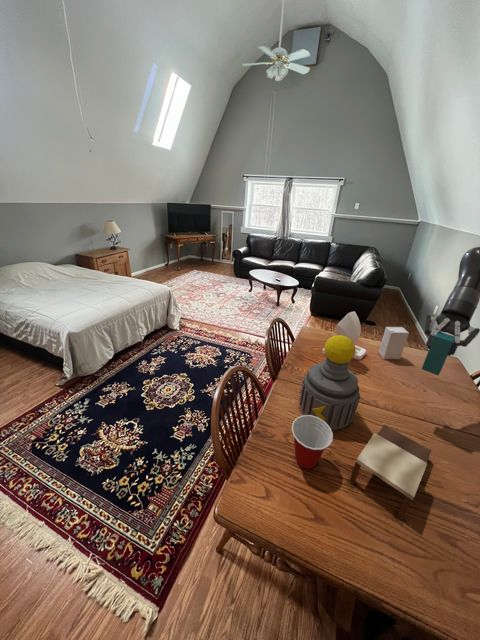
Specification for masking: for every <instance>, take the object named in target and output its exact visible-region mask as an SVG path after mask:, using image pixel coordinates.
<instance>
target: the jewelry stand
mask: <svg viewBox="0 0 480 640" xmlns="http://www.w3.org/2000/svg"><path fill="white" fill-rule="evenodd" d="M333 333H334V334H335V335H343V336H346V337H348V338H349V339H351V341H352V342H353V344H354V346H355V354H354V357H353V358H352V359H354V360H358V361H359V360H362V359H363V358H364V357H365V356H366V354H367V350H366V349H365V348H364V347H361V346H359V345H356V344H357V343H358V341H359V339H360V337H361V333H362V325H361V322H360V319H359V317H358V315H357V313H356V311H351V312H350V311H349V312H348V313H346V315H345V316H344V317H343V318H341V320H340V321H339V322H338V323H337V324H336V326H335V328H334V330H333ZM321 354H323V355H325V351H324V348H322V351H321Z"/></svg>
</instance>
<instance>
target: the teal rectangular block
mask: <svg viewBox="0 0 480 640" xmlns="http://www.w3.org/2000/svg"><path fill="white" fill-rule="evenodd" d="M454 340H455V337H454V336H453V335H451V334H449V333H445V332H438V333H436V335H435V336H434V338H433V341H432V343H431V346H430V348H429V349H428V351H427V354H426V357H425V359H424V361H423V364H422V367H421V370H422V371H425V372H428V373H430V374H433V375H436V376H440V374H441V372H442V370H443V368H444V365H445V364H446V361H447V358H448V357H449V356H448V352H449V350H450V348H451V346H452V344H453V343H454Z"/></svg>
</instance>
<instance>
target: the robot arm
mask: <svg viewBox="0 0 480 640" xmlns="http://www.w3.org/2000/svg"><path fill="white" fill-rule="evenodd" d="M458 268H459V269H458V274H457V275H458V276H457V277H458V278H457V281H456V283H455V285H454V287H453V289H452V291H451V292H450V293H449V295H448V297H447V299H446V301H445V303H444V305H443V307H442V309H441V312H439V313H440V314H438V315H436V316H432V315H431V314H427V315H426V317H425V325H424V335H425V336H428V337H427V341H426V342H425V347H426V348H427V349H428V350H429V348H430V346H431V343H432V341H433V338H434V336H435V335H436V333H438V332H441V333H445V334H448V335H451V336H454V337H455V340H454V342H453V344H452V346H451V348H450V350H449V352H448V356H447V357H451V356H454V355H455V354H456V351H457V349H458V347H464V348H466V347H467V346H468V345H469V344H470V343H472V341H474V339H475V338H476V337H477V336H478V335H479V333H480V328H479V327H473V326H471V320H472V318H473V316H474V314H475V312H476V309H477V308H478V305H479V302H480V246H475V247H472V248H470V249H469V250H467V251H466V252H465V253H464V254H463V255H462V257H461V259H460V261H459V267H458ZM434 322H436V325H437V326H436V327H435V328H434V329H433V330H432V331H431V324H434ZM465 331H468V332H467V333H468V335H467V336H466V337H465V338H464V339H463V340H462V339H461V333H463V332H465Z"/></svg>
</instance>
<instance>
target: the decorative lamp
mask: <svg viewBox="0 0 480 640" xmlns="http://www.w3.org/2000/svg"><path fill="white" fill-rule="evenodd" d="M323 349H324V351H325V354H324V355H325V359H324V360H323V362H317V363H315V364H313V365H312V366H311V367H310V368H309V370H308V371H307V372H306V374H305V376H304V377H303V379H301V382H302V383H301V388H300V390H299V393H300V394H299V406H300V412H301V413H302V415H312V416H315V417H318V418H320V419H322V420H323V421H325V422H326V423H327V424H328V426H329V427H330V428H331V431H336V430H342V429H344V428H346V427H348V426H349V424H352V422H353V421H354V419H355V416H356V413H357V410H358V407H359V404H360V400H361V394H360V387H359V379H358V377H357V375H356V374H355V373H354V372H353V371H352V370H350V369H349V362H351V360H353V359H354V358H353V357H354V354H355V346H354V344H353V342H352V341H351V339H349V338H348V337H346V336H343V335H337V334H334V335H332V336H331V337H329V338H328V339H327V340H326V341H325V342H324V347H323Z"/></svg>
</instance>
